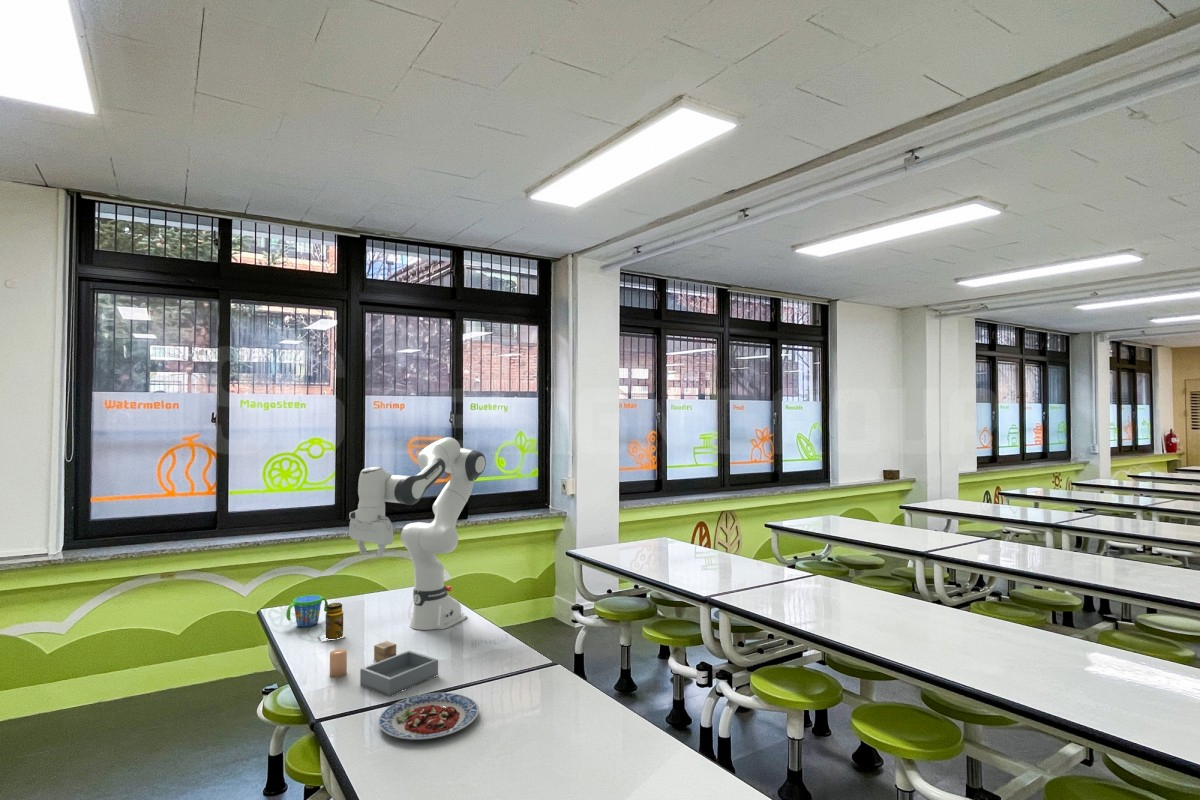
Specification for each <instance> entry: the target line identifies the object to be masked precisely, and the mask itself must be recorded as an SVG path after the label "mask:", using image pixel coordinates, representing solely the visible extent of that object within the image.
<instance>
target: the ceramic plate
mask: <svg viewBox="0 0 1200 800" xmlns="http://www.w3.org/2000/svg"><path fill="white" fill-rule="evenodd" d="M443 706H445V707H446V708H445V707H443ZM479 709H480V708H479V706H478V703H477V702H476V701H475V700H473V698H470V697H468V696H466V695H462V694H458V693H453V692H431V693H422V694H418V695H413V696H410V697H406V698H404V699H402V700H398V701H397V702H395V703H392V704H391V705H390V706H389V707H387V708H386V709H385V710H384V711H383V712H382V713H381V715H379V719H378V726H379V728H380V730H381V731H382V732H384V733H385V734H386V735H389V736H391V737H394V738H398V739H404V740H427V739H429V740H431V739H435V738H440V737H444V736H448V735H452V734H454V733H456V732H458V731H461V730H462V729H465V728H466V727H468V726H469V725H471V724H472V723H473V722H475V720H476V718H477V717H478V715H479V712H480V710H479Z"/></svg>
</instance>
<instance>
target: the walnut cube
mask: <svg viewBox="0 0 1200 800" xmlns="http://www.w3.org/2000/svg"><path fill="white" fill-rule="evenodd" d="M373 649H374V651H373V661H375V660H376V661H375V662H377V661H379V662H380V661H382V660H385V659H387V658H390V657H393V656H395V655H397V643H395V642H391V641H387V640H386V641H384V642H380V643H377V644H375V645H373Z"/></svg>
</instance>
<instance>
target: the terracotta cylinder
mask: <svg viewBox="0 0 1200 800" xmlns="http://www.w3.org/2000/svg"><path fill="white" fill-rule="evenodd" d="M347 662H348V651H347V649H344V648H339V649H338V648H337V649H334V650H331V651H330V652H329V677H330V678H332V677H334V678H335V677H338V678H341V676H342V677H345V676H347V673H348V668H347V667H348V663H347ZM344 675H345V676H344ZM335 679H336V678H335Z"/></svg>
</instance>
